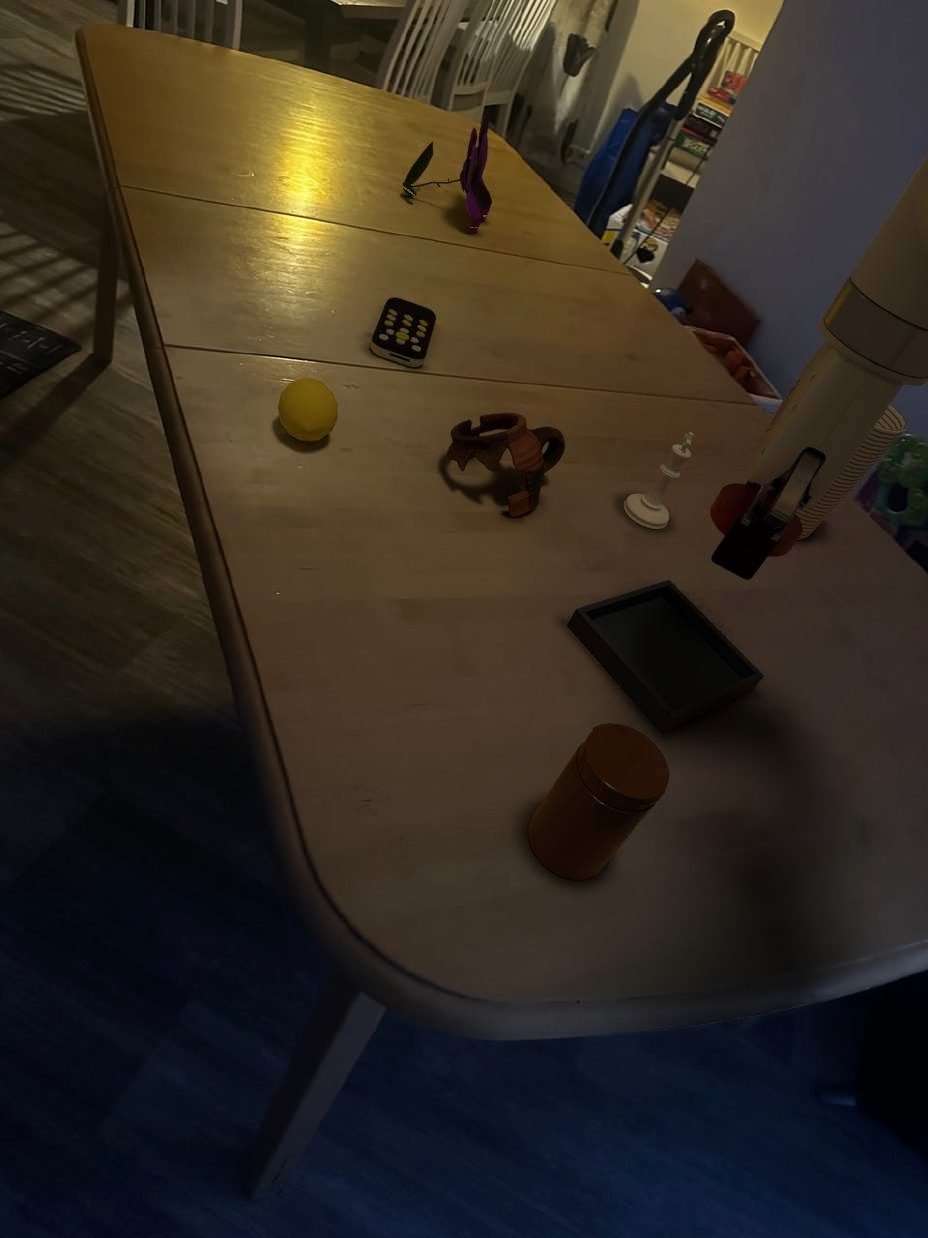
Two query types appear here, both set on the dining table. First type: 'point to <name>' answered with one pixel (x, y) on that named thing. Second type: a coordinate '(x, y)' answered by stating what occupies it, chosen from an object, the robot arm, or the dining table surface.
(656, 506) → the chess piece
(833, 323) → the robot arm
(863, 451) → the cup
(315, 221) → the dining table surface
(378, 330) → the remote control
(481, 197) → the flower
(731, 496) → the jar lid
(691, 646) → the tray
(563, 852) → the jar
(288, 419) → the lemon
